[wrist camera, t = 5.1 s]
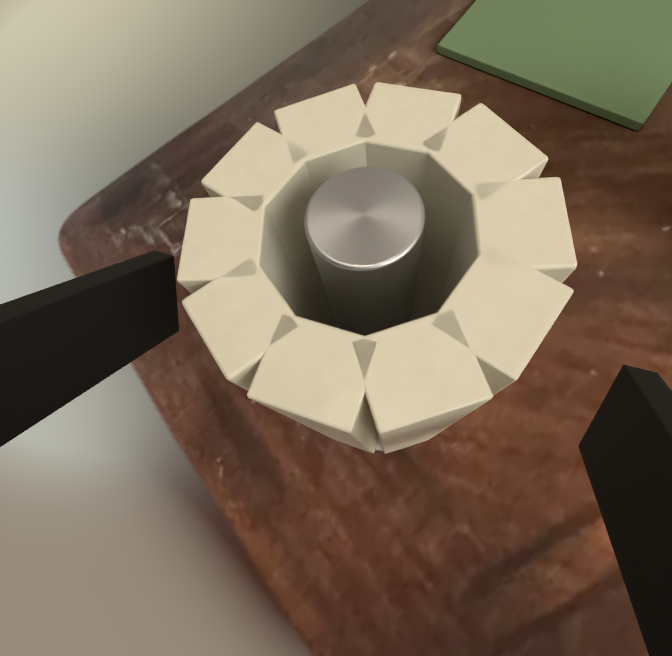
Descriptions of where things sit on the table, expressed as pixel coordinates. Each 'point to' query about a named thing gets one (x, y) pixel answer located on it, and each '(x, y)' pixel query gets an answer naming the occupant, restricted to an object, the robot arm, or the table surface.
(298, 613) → the table surface
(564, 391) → the table surface
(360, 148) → the cream slatted holder
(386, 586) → the table surface
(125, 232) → the table surface
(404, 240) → the stand
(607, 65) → the mat
